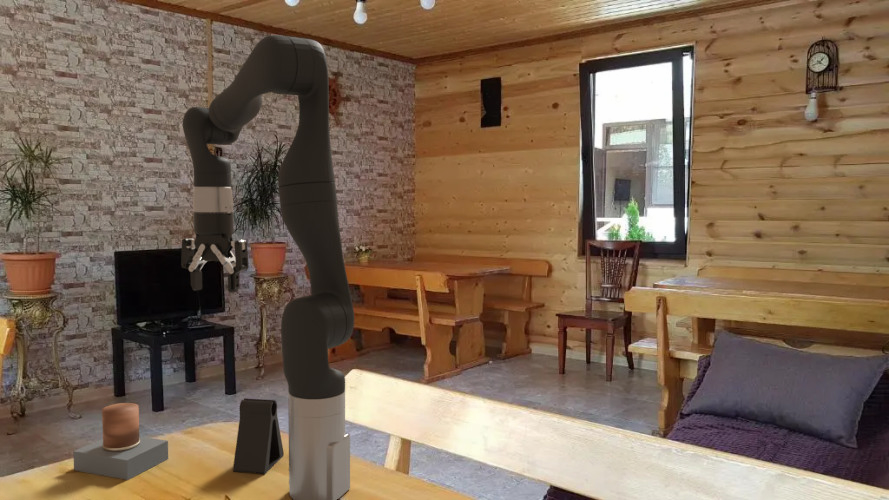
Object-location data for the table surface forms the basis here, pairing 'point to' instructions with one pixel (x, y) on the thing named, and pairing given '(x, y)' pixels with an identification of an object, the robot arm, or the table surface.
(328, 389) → the robot arm
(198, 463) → the table surface
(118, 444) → the peg
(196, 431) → the table surface
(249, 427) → the phone stand
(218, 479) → the table surface
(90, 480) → the table surface
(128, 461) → the board
